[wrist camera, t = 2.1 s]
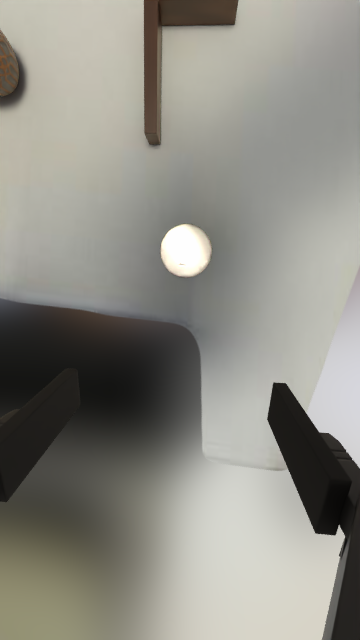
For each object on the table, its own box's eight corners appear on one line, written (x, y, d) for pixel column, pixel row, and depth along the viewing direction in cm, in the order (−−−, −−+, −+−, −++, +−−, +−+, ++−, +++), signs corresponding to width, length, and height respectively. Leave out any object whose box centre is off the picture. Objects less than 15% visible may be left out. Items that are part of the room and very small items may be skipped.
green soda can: (202, 273, 36) (205, 284, 24) (167, 265, 36) (153, 272, 24) (212, 237, 34) (219, 229, 23) (175, 228, 34) (164, 216, 23)
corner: (235, 7, 27) (240, -22, 24) (225, 145, 31) (227, 134, 28) (149, 9, 28) (143, -19, 25) (149, 144, 31) (144, 133, 29)
